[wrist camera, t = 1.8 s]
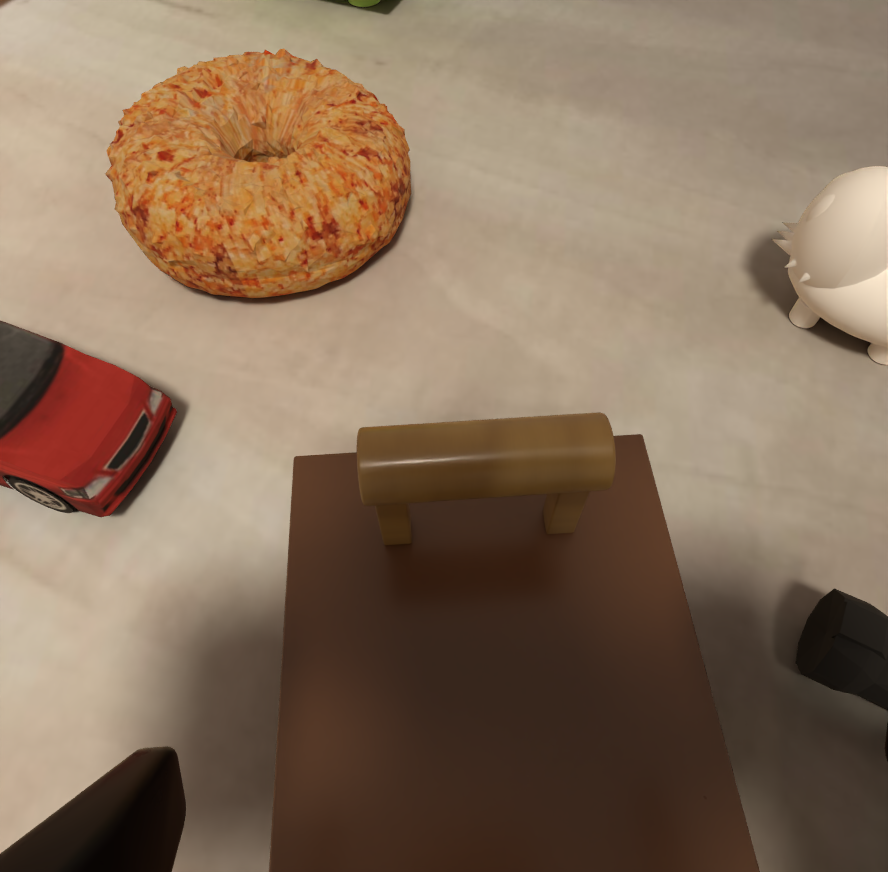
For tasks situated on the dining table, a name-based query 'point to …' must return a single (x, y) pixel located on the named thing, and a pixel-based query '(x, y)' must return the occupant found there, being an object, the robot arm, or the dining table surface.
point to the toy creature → (844, 258)
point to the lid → (494, 662)
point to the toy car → (74, 424)
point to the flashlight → (846, 647)
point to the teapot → (363, 2)
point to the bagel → (259, 175)
